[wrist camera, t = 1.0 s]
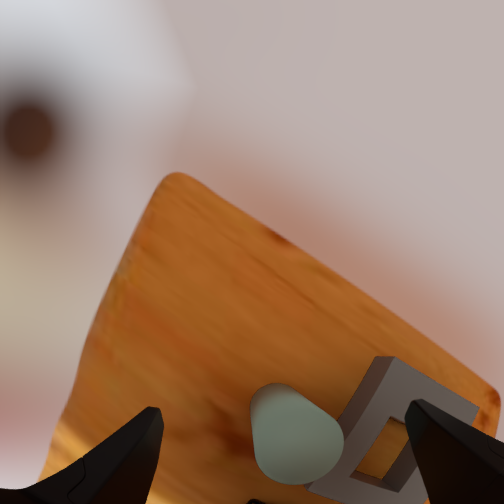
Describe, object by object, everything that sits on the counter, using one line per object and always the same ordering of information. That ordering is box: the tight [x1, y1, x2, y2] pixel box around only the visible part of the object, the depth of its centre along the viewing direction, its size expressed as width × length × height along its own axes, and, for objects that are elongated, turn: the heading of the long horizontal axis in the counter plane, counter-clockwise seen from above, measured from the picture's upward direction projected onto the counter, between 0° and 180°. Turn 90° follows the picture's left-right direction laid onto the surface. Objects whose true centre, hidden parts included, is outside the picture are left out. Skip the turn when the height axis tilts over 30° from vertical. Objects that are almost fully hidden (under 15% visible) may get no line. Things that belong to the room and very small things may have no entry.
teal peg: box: [250, 383, 344, 485], centre depth 18 cm, size 5×5×12 cm
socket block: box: [304, 356, 480, 504], centre depth 20 cm, size 14×14×4 cm
